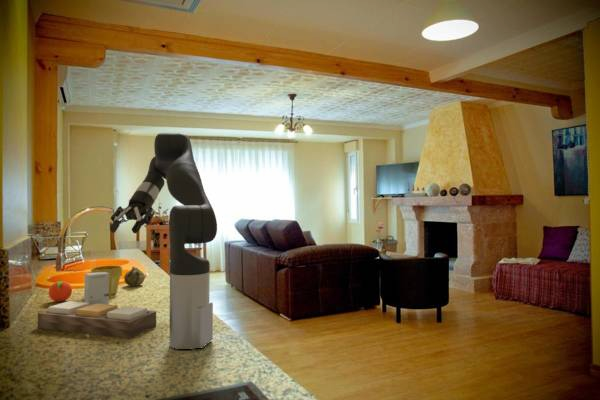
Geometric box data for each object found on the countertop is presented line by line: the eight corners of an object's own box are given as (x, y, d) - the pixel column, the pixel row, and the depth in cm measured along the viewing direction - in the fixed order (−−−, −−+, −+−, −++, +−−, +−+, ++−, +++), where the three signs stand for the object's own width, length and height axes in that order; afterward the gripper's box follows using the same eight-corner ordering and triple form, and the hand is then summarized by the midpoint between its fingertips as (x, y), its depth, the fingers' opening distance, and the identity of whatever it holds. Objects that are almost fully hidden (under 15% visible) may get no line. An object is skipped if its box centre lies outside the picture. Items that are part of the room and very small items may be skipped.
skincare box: (88, 316, 125) (88, 275, 125) (83, 313, 128) (83, 273, 128) (109, 312, 129) (109, 273, 129) (104, 309, 132) (104, 271, 132)
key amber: (117, 311, 116) (117, 305, 116) (98, 318, 110) (99, 311, 110) (96, 309, 118) (96, 303, 118) (77, 316, 111) (77, 309, 112)
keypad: (156, 325, 115) (156, 311, 115) (129, 338, 105) (129, 322, 105) (70, 317, 123) (70, 303, 123) (37, 328, 113) (37, 313, 113)
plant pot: (88, 297, 149) (88, 270, 149) (94, 291, 159) (94, 265, 159) (119, 296, 151) (119, 268, 151) (123, 290, 161) (123, 264, 161)
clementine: (70, 303, 140) (70, 282, 140) (46, 305, 137) (46, 283, 137) (73, 298, 147) (73, 278, 147) (50, 300, 145) (50, 279, 145)
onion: (149, 285, 172) (149, 265, 172) (132, 288, 165) (132, 268, 165) (137, 283, 176) (137, 264, 176) (120, 286, 169) (120, 266, 169)
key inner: (147, 314, 114) (147, 307, 114) (129, 321, 107) (129, 314, 107) (125, 312, 116) (125, 306, 116) (106, 319, 109) (107, 312, 109)
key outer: (89, 309, 119) (89, 302, 119) (69, 315, 112) (69, 308, 112) (69, 307, 121) (69, 301, 121) (48, 313, 114) (48, 306, 114)
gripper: (122, 189, 150) (99, 223, 139) (157, 189, 146) (135, 224, 135) (132, 204, 155) (110, 238, 144) (166, 204, 151) (146, 239, 140)
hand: (122, 231), depth 140 cm, fingers open, 8 cm apart
